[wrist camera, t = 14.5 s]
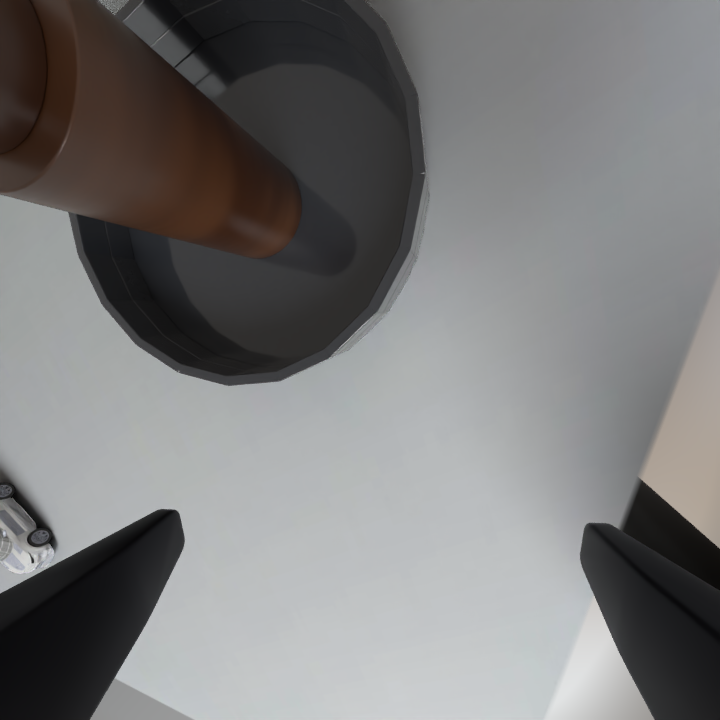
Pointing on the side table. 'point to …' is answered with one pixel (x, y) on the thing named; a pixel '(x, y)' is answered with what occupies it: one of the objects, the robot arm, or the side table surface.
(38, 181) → the pepper mill
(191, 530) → the side table surface
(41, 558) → the toy car
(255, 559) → the side table surface
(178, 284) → the pan
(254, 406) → the side table surface
